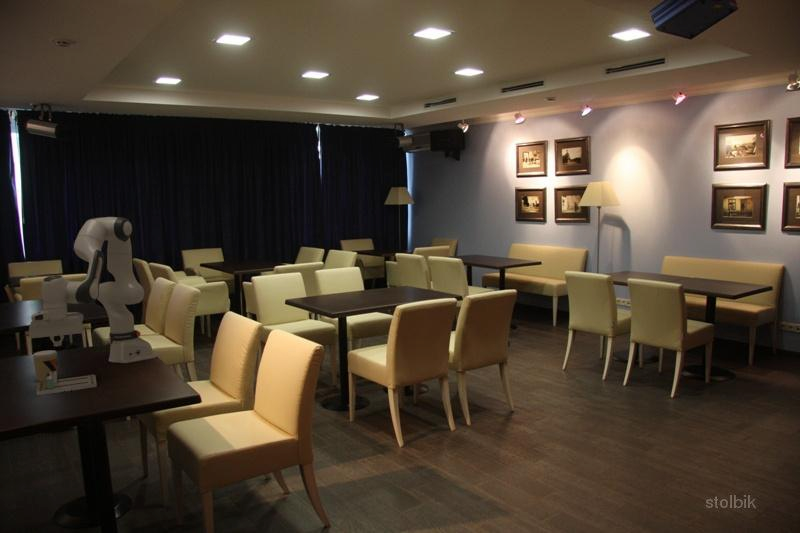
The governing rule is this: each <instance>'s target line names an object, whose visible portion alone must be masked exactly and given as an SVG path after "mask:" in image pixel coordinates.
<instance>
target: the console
mask: <svg viewBox="0 0 800 533" xmlns="http://www.w3.org/2000/svg"><path fill="white" fill-rule="evenodd" d="M97 384H98V383H97V378H96V374H92V373H91V374H90V375H83V376H76V377H69V378H67V377H66V378H61V379H60V378H59V379H57V383H54V388H52V389H47V381H37V387H36V396H44V395H49V394H51V395H52V394H56V393H57V394H58V393H64V391H65V392H72V391H78V390H84V389H91V388H97V387H98V385H97ZM71 390H72V391H71Z"/></svg>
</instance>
